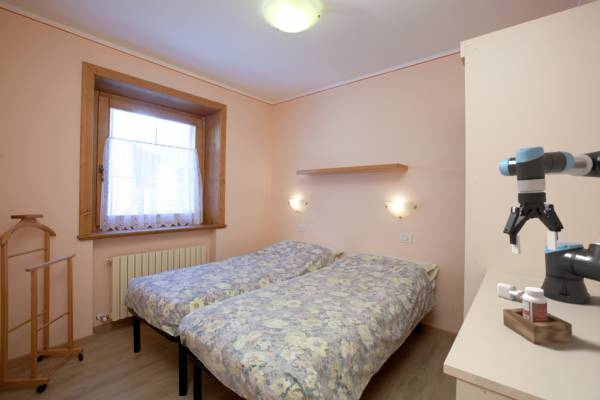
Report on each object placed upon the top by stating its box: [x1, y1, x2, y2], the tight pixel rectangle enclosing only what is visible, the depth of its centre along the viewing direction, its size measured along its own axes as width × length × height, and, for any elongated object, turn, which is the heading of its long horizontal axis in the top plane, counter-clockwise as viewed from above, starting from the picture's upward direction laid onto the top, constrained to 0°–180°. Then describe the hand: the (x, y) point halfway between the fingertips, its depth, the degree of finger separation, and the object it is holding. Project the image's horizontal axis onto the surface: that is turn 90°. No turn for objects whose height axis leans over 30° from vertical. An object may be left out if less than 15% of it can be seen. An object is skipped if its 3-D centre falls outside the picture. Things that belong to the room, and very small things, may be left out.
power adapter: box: [496, 282, 525, 301], centre depth 113 cm, size 11×5×6 cm, turn 25°
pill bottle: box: [521, 286, 548, 323], centre depth 88 cm, size 6×6×11 cm
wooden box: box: [502, 307, 573, 345], centre depth 88 cm, size 12×12×6 cm
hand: (534, 251), depth 94 cm, fingers open, 13 cm apart
